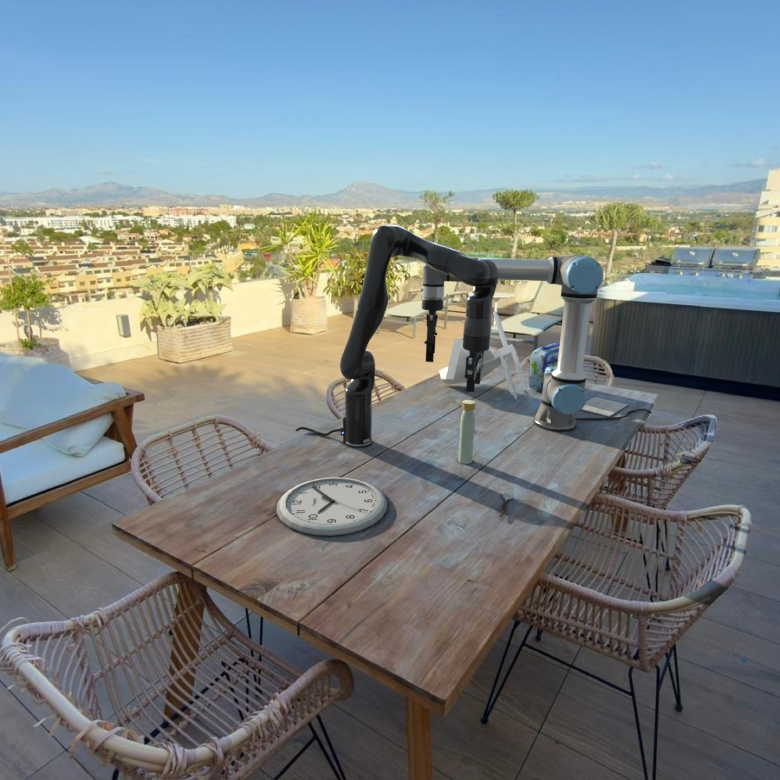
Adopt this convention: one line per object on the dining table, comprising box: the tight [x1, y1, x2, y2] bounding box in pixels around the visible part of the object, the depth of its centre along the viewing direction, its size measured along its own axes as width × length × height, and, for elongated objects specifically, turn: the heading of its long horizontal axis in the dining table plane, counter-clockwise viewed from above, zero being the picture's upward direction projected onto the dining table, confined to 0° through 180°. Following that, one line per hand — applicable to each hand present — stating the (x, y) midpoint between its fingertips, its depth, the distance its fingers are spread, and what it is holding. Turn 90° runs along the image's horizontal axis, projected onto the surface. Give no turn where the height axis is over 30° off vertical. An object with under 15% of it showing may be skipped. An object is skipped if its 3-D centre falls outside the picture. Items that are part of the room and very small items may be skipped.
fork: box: [500, 486, 514, 518], centre depth 144 cm, size 3×16×2 cm, turn 160°
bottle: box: [457, 409, 476, 465], centre depth 168 cm, size 4×4×20 cm
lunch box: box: [528, 343, 560, 392], centre depth 249 cm, size 26×11×21 cm, turn 134°
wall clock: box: [276, 476, 388, 537], centre depth 142 cm, size 30×2×30 cm
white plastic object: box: [438, 310, 531, 400], centre depth 245 cm, size 37×45×31 cm
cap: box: [461, 399, 476, 411], centre depth 166 cm, size 4×4×2 cm
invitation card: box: [580, 396, 629, 418], centre depth 226 cm, size 21×1×15 cm
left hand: (473, 387), depth 152 cm, fingers open, 8 cm apart
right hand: (430, 357), depth 190 cm, fingers open, 13 cm apart
